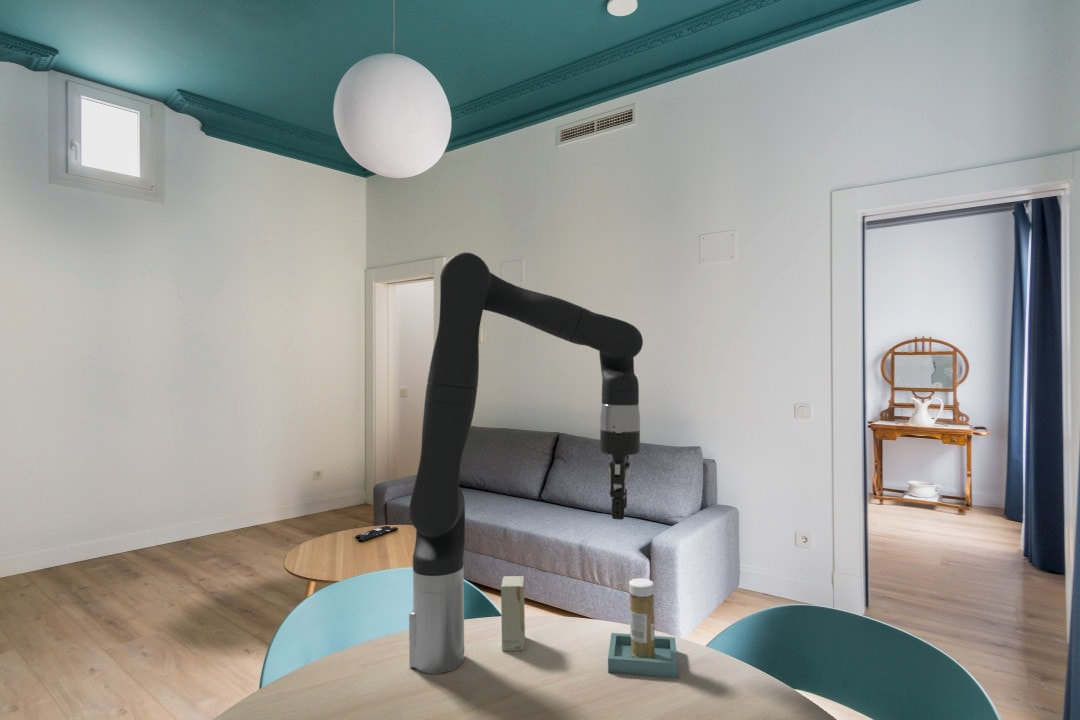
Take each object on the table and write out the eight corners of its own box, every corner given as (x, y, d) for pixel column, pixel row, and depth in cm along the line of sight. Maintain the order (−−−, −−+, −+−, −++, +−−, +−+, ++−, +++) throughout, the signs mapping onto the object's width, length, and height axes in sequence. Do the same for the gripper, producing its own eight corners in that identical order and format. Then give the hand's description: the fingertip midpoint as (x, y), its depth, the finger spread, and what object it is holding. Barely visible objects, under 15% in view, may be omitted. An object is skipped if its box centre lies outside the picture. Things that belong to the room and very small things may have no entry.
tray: (608, 672, 101) (608, 658, 101) (611, 645, 111) (611, 632, 111) (678, 678, 99) (677, 663, 99) (675, 650, 109) (675, 637, 109)
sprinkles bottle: (660, 657, 104) (659, 582, 105) (642, 664, 102) (640, 588, 102) (643, 647, 108) (641, 575, 108) (624, 654, 106) (623, 580, 106)
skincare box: (524, 651, 109) (523, 586, 110) (501, 651, 109) (500, 587, 110) (525, 635, 116) (524, 574, 116) (503, 636, 116) (503, 575, 116)
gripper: (603, 424, 117) (603, 503, 117) (596, 431, 103) (596, 521, 103) (640, 425, 116) (640, 505, 116) (638, 432, 102) (638, 524, 102)
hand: (619, 513), depth 109 cm, fingers open, 8 cm apart
